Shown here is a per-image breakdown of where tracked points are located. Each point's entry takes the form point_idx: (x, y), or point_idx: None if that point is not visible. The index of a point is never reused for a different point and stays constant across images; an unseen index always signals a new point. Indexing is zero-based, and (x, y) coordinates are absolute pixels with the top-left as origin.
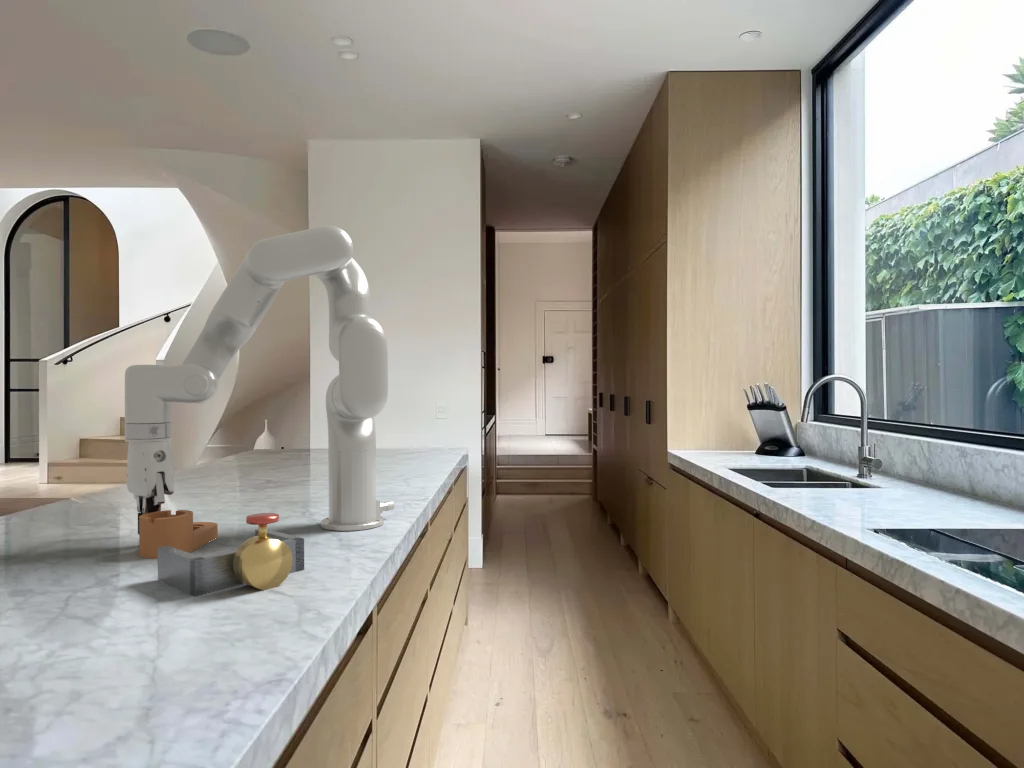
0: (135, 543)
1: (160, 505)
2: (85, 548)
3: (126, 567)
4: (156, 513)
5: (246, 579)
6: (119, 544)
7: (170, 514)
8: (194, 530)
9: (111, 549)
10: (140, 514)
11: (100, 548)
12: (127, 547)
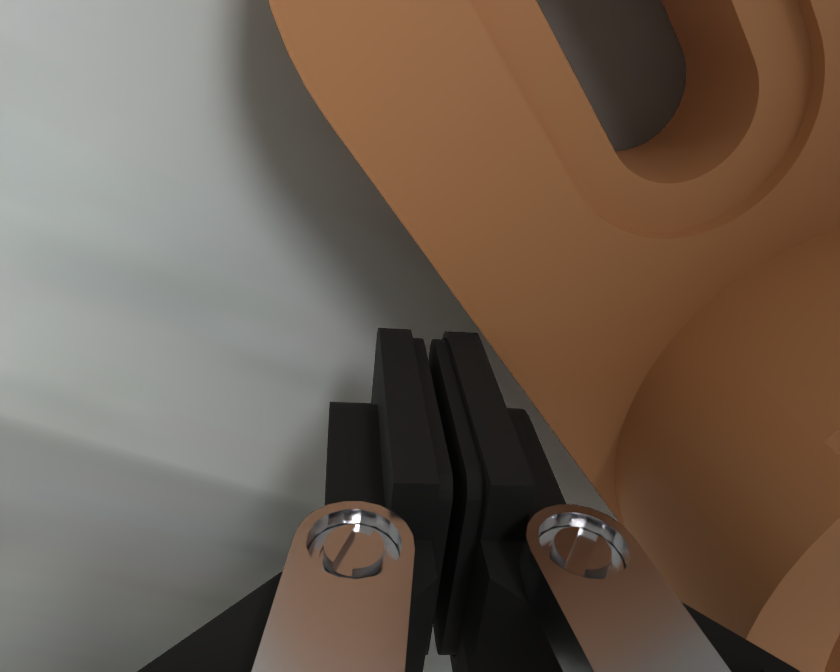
0: (193, 369)
1: (671, 601)
2: (80, 624)
3: None
4: (820, 652)
5: None
6: (125, 456)
7: (830, 455)
8: (835, 74)
9: (271, 542)
10: (462, 669)
11: (167, 573)
12: (301, 459)
